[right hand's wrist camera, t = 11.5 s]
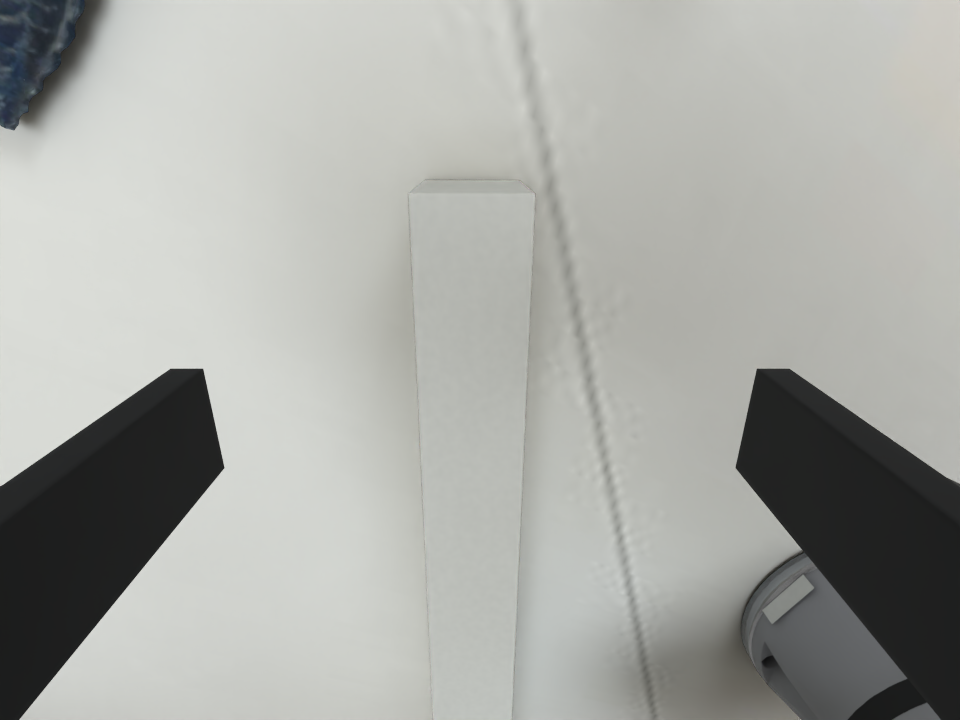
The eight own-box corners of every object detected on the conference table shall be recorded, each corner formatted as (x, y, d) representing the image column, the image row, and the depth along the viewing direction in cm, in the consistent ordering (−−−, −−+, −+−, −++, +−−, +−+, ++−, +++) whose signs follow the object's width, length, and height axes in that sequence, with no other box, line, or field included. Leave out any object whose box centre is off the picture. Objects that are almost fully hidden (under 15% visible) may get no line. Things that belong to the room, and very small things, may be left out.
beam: (424, 179, 27) (407, 192, 20) (520, 179, 27) (535, 193, 20) (447, 822, 50) (442, 931, 43) (498, 822, 50) (502, 930, 43)
